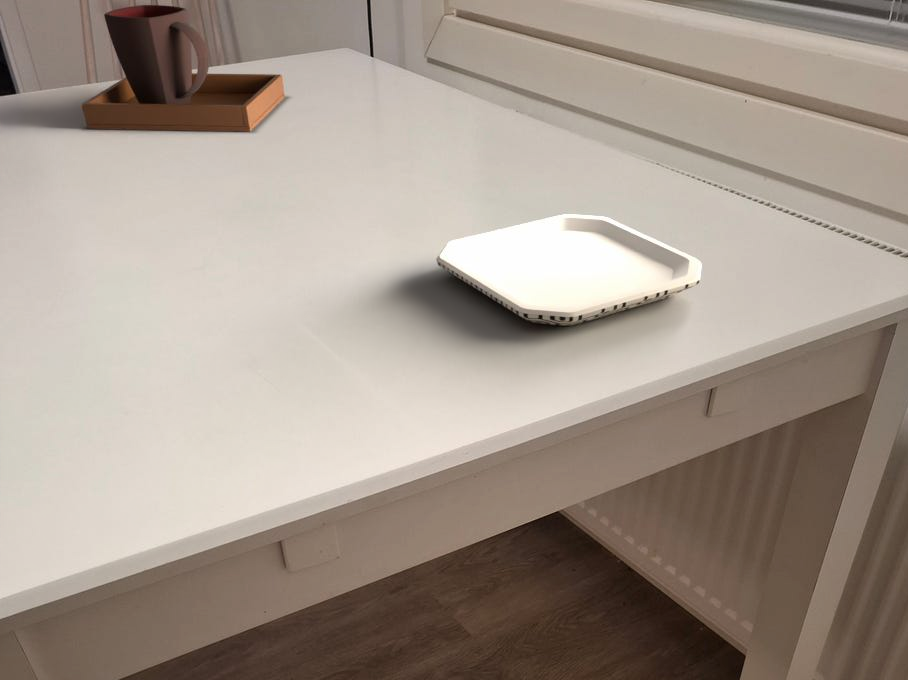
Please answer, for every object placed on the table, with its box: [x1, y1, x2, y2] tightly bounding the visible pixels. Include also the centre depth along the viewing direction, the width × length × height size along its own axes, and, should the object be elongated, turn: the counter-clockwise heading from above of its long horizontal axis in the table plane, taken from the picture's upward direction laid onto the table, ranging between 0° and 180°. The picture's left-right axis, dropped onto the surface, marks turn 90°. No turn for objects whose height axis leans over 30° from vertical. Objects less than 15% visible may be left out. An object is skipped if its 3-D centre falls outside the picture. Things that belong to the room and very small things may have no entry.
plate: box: [436, 213, 703, 327], centre depth 86 cm, size 21×21×2 cm
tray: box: [81, 72, 286, 133], centre depth 133 cm, size 24×20×3 cm
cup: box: [103, 4, 210, 104], centre depth 129 cm, size 10×14×12 cm
